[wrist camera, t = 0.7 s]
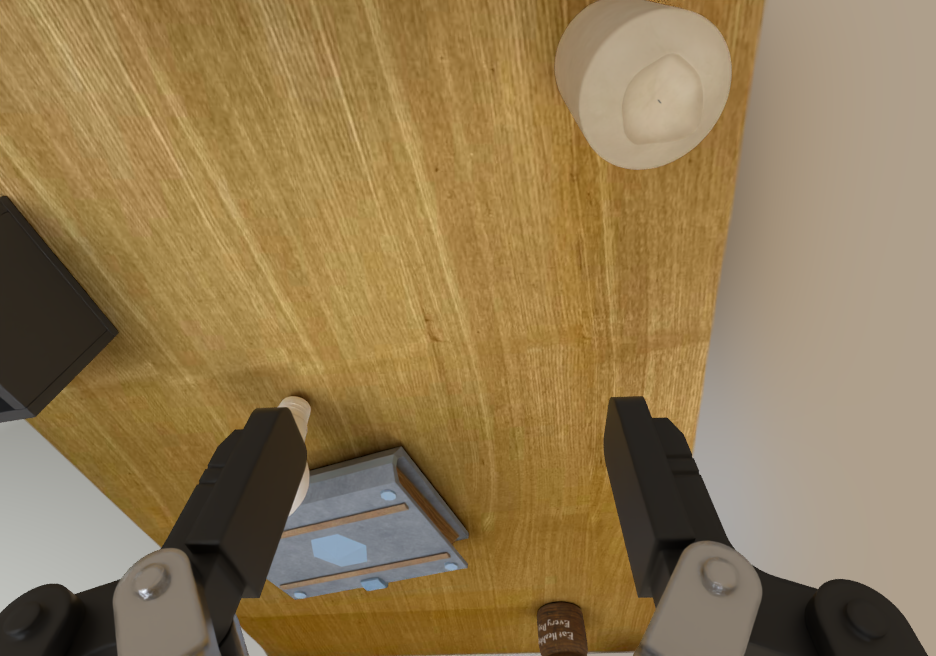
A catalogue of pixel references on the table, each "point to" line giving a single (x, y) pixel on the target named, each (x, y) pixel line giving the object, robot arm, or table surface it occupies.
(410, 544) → the book
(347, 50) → the table surface
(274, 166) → the table surface
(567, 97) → the candle
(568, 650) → the utensil holder
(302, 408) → the lightbulb
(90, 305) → the bin
